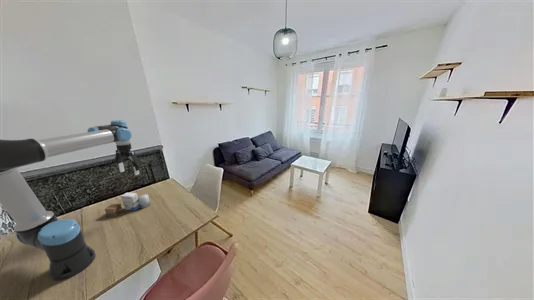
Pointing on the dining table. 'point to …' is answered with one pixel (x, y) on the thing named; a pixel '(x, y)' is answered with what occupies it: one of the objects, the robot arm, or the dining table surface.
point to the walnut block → (113, 210)
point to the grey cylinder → (144, 201)
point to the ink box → (130, 201)
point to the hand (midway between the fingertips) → (129, 173)
